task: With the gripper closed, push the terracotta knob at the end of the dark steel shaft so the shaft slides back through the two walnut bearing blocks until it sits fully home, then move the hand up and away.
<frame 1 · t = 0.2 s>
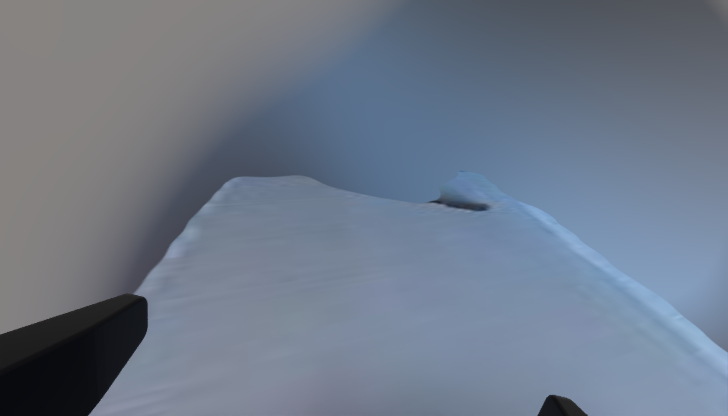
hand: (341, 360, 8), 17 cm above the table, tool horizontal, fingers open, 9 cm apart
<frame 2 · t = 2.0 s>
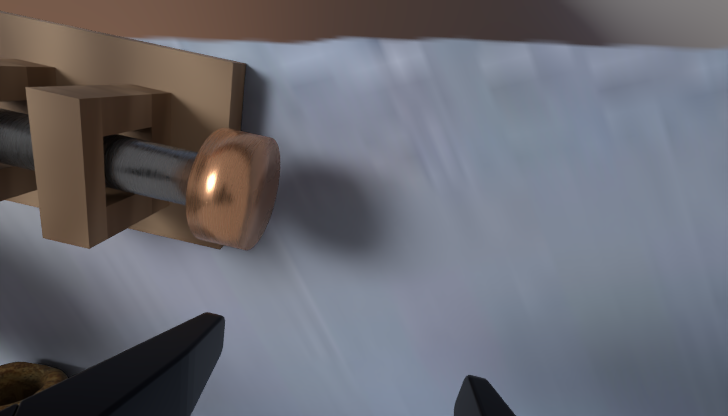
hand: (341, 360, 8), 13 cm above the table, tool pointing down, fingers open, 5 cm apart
shaft: (124, 163, 16), point 5 cm above the table, slide at 3.5 cm
bearing stand: (117, 131, 21), on the table
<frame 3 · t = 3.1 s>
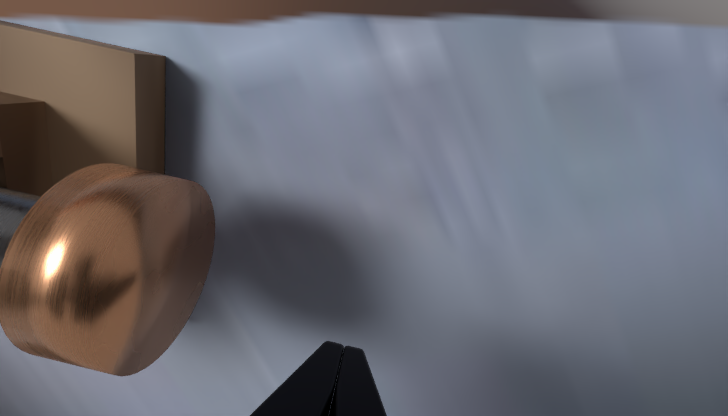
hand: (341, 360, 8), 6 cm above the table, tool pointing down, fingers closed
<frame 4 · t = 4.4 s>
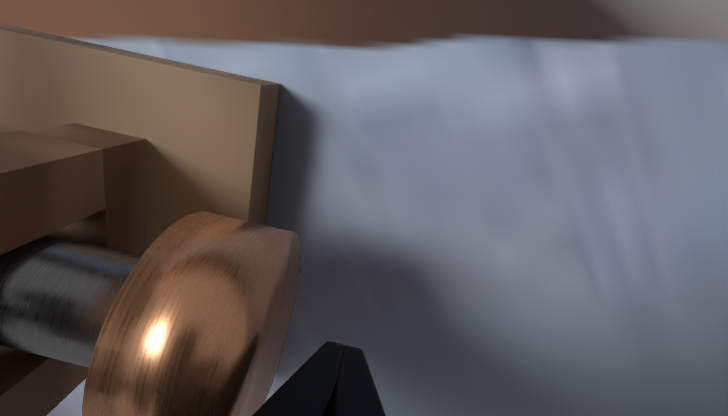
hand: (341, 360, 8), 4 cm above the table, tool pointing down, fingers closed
bearing stand: (62, 193, 13), on the table
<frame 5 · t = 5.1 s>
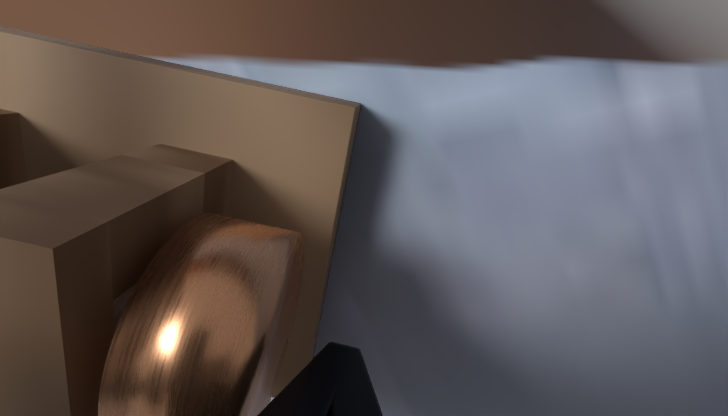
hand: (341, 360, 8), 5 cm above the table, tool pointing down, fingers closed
shaft: (0, 281, 8), point 5 cm above the table, slide at -0.1 cm, touching gripper
bearing stand: (129, 210, 13), on the table
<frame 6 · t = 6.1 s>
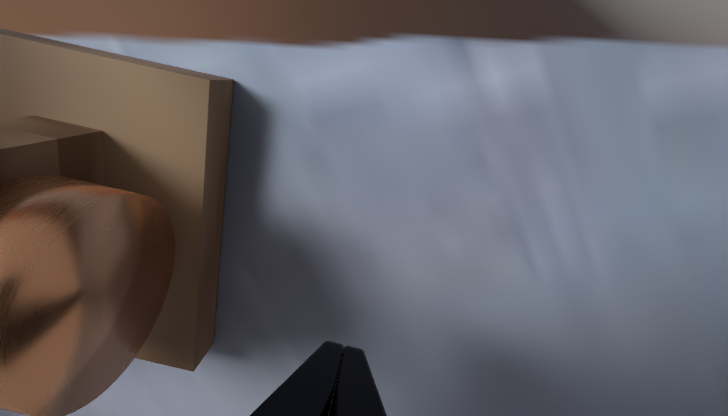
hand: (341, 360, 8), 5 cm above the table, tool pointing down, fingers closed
bearing stand: (28, 185, 13), on the table
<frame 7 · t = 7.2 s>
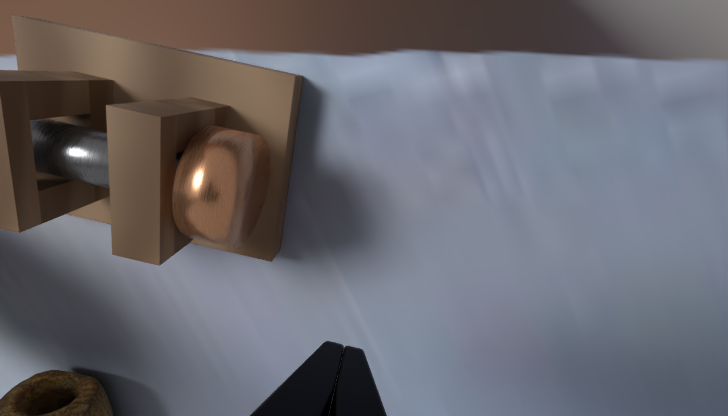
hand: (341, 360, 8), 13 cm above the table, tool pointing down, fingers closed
shaft: (113, 161, 16), point 5 cm above the table, slide at 0.0 cm
bearing stand: (168, 143, 21), on the table
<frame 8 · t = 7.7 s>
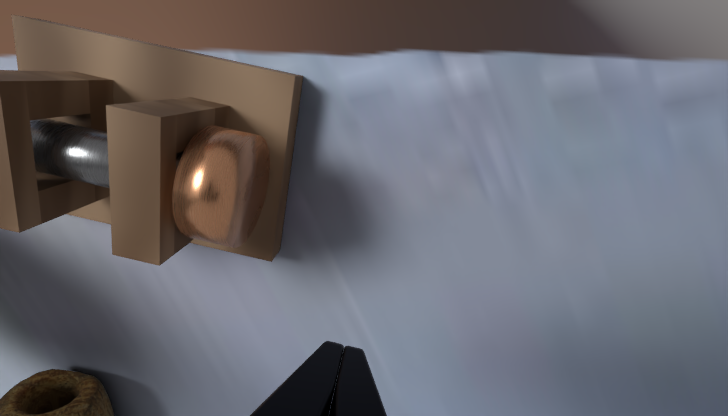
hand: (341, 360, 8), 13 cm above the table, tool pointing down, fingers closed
shaft: (113, 161, 16), point 4 cm above the table, slide at 0.0 cm
bearing stand: (168, 143, 21), on the table
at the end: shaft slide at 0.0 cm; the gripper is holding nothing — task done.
